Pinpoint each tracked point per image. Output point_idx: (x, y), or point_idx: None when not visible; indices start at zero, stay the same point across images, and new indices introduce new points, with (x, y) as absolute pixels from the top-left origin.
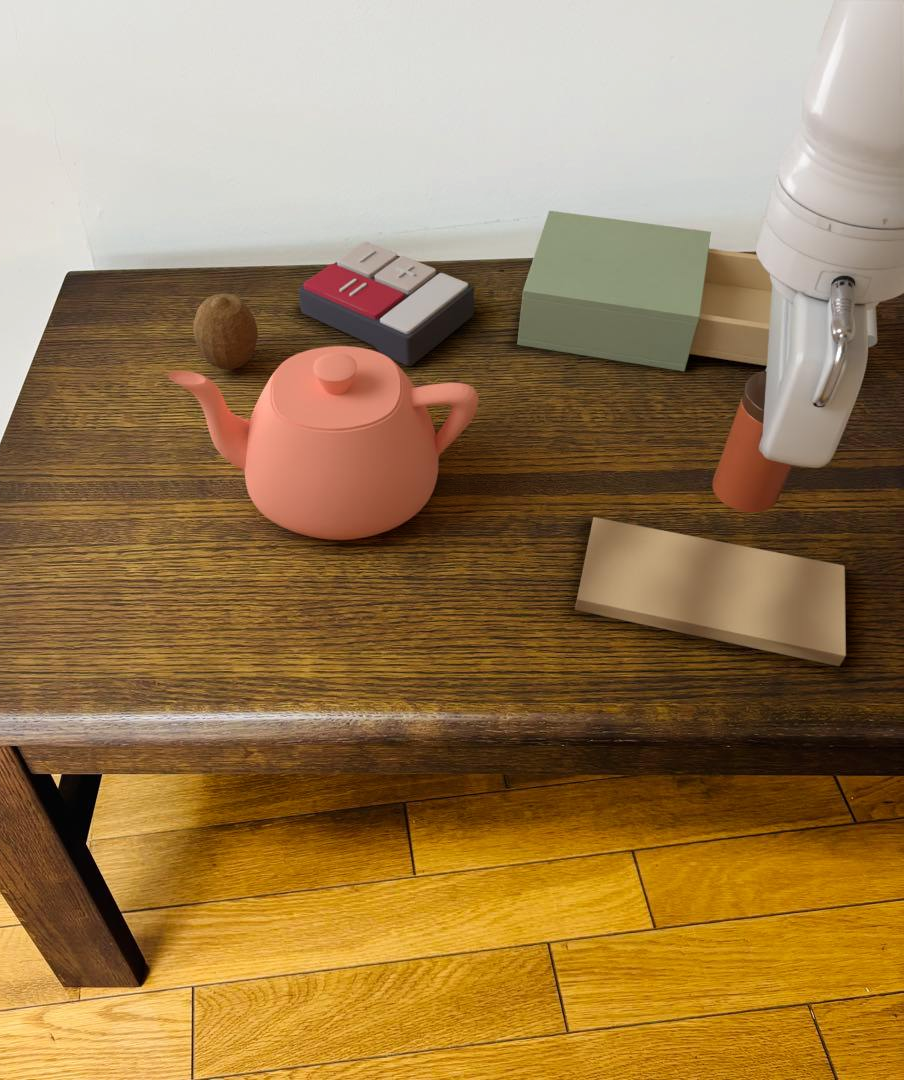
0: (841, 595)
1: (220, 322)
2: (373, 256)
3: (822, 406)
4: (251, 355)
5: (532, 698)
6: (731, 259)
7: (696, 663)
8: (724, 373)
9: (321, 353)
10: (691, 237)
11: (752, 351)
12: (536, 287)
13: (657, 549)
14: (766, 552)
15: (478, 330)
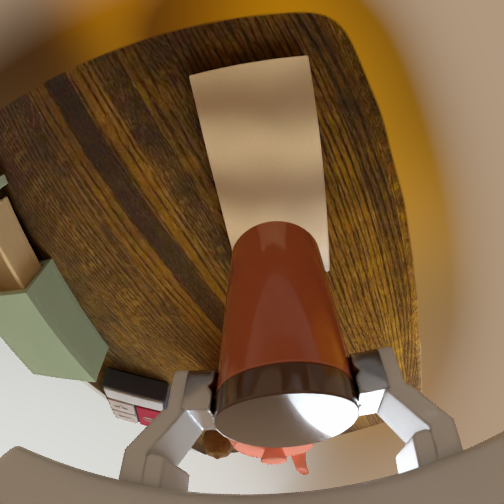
0: (231, 69)
1: (226, 452)
2: (122, 415)
3: (445, 460)
4: None
5: (403, 262)
6: None
7: (348, 169)
8: (35, 233)
9: (250, 454)
10: None
11: (13, 232)
12: (87, 376)
13: None
14: (208, 146)
15: (115, 363)
